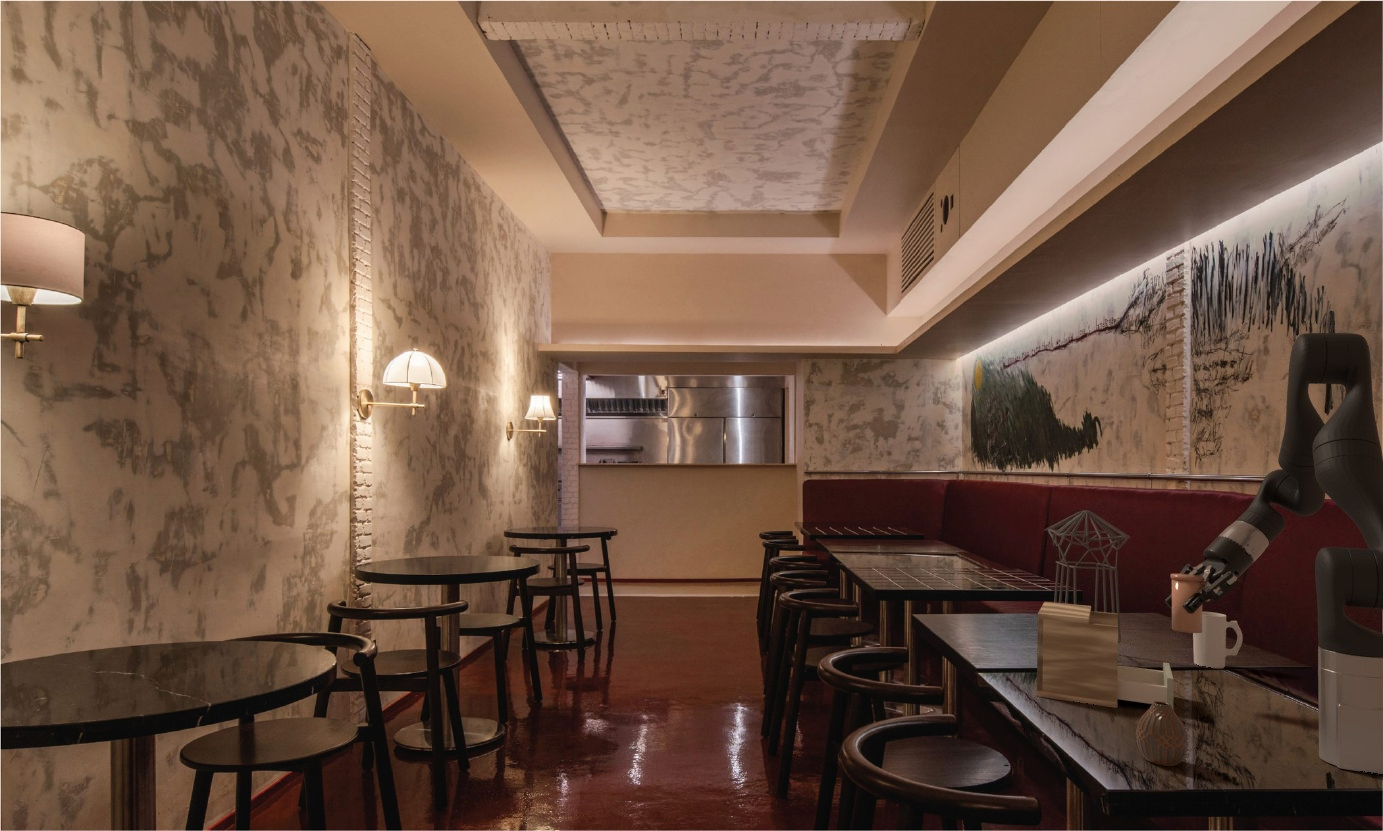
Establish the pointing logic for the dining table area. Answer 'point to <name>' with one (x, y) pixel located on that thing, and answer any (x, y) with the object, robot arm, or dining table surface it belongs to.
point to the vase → (1162, 735)
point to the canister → (1181, 593)
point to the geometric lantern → (1103, 524)
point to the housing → (1077, 654)
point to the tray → (1145, 684)
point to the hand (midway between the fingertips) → (1177, 607)
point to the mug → (1214, 641)
